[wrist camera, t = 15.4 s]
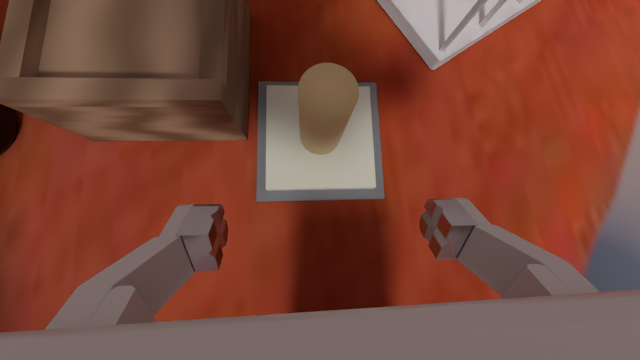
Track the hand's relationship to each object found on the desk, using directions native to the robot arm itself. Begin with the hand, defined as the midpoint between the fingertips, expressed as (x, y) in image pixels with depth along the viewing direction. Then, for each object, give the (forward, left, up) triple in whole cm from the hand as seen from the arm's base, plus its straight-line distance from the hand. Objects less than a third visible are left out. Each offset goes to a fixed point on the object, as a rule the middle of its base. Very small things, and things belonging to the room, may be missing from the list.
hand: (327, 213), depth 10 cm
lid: (+1, +8, -13) cm, 15 cm away
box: (-13, +15, -14) cm, 24 cm away
